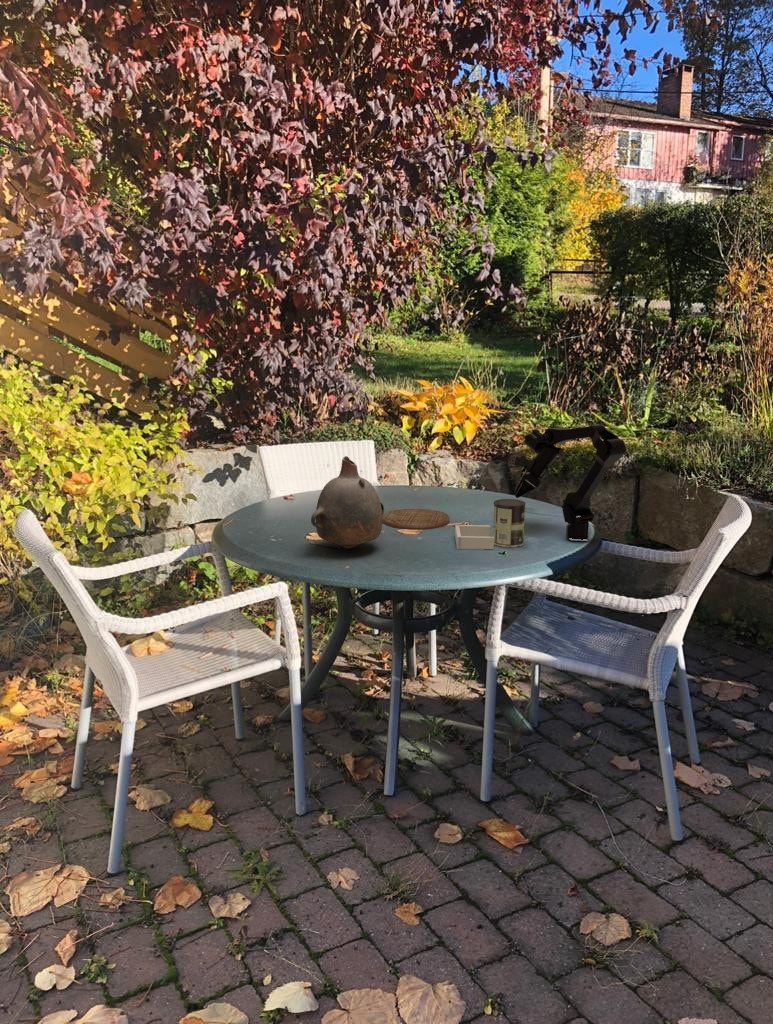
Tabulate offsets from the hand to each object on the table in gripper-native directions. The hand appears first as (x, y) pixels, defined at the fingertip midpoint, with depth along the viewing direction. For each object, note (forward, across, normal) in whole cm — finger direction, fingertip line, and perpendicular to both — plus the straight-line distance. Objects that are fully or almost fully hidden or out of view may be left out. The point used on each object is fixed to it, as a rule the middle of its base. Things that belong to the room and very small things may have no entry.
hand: (515, 495), depth 279 cm
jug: (+42, +32, -35) cm, 64 cm away
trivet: (+31, -6, -22) cm, 38 cm away
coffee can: (+12, +18, +6) cm, 23 cm away
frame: (+19, +20, -3) cm, 27 cm away
